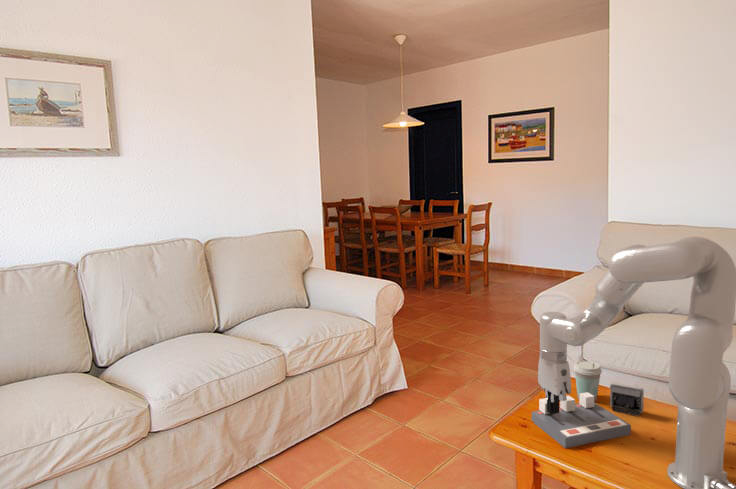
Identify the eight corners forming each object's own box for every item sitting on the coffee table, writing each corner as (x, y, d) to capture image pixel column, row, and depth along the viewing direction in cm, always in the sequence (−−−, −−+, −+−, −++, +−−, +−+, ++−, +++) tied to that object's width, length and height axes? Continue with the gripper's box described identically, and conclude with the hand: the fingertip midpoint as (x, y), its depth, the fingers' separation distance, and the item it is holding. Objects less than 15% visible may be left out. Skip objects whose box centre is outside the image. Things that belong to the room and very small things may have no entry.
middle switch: (574, 410, 147) (575, 399, 147) (566, 411, 146) (566, 401, 146) (568, 406, 150) (568, 395, 150) (560, 407, 149) (560, 396, 149)
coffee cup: (590, 406, 156) (591, 371, 154) (567, 397, 163) (568, 363, 161) (606, 399, 160) (607, 365, 158) (583, 390, 167) (584, 358, 166)
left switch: (553, 412, 146) (553, 402, 146) (545, 414, 145) (545, 403, 145) (547, 408, 149) (547, 397, 148) (539, 410, 148) (539, 399, 148)
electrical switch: (643, 412, 151) (644, 385, 149) (642, 420, 147) (643, 393, 145) (610, 405, 156) (610, 379, 154) (608, 413, 152) (608, 387, 150)
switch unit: (630, 434, 138) (630, 424, 138) (565, 448, 133) (565, 437, 132) (591, 409, 154) (591, 400, 153) (531, 420, 148) (531, 411, 148)
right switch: (594, 406, 149) (594, 396, 148) (585, 408, 148) (586, 397, 148) (587, 402, 152) (587, 392, 151) (579, 404, 151) (579, 393, 151)
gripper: (581, 360, 135) (580, 422, 138) (548, 344, 150) (548, 400, 152) (558, 364, 133) (558, 426, 136) (527, 347, 148) (527, 404, 150)
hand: (553, 412), depth 144 cm, fingers closed
